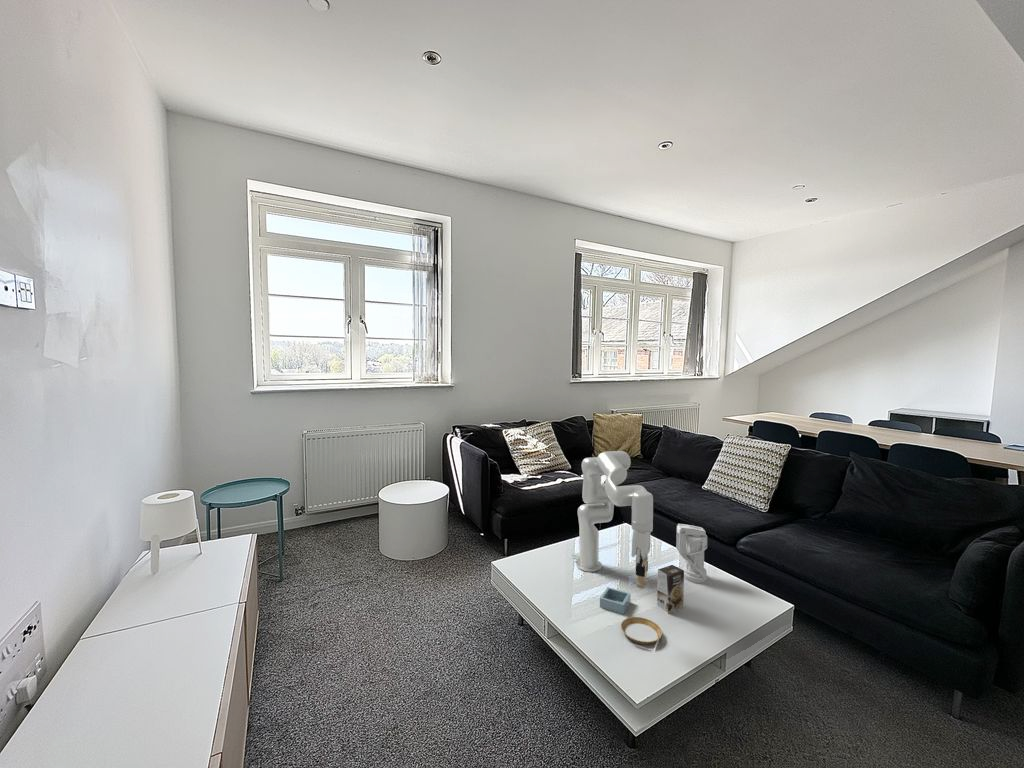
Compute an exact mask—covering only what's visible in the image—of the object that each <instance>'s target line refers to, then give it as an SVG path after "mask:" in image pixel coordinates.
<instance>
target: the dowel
mask: <svg viewBox="0 0 1024 768" xmlns="http://www.w3.org/2000/svg"><path fill="white" fill-rule="evenodd" d="M640 557H642V556H640ZM640 561H642V560H641V559H640ZM647 561H648V560H647V557H646V558H645V559H644V566H645V576H644V577H641V576H637V575H636V587H637V588H639V589H647V587H648V586H647V585H648V582H647V581H648V578H647V577H648V571H647Z"/></svg>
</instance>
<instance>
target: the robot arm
mask: <svg viewBox="0 0 1024 768" xmlns="http://www.w3.org/2000/svg"><path fill="white" fill-rule="evenodd" d="M631 462H632V461H631V457H630V455H629V454H628V452H626V451H624V450H611V451H610V450H608V451H603V452H601V453H598V455H597V456H596V457H585V458H584V459H583V460H582V462H581V471H582V474H583V475H582V477H583V479H582V494H581V495H582V496H581V497H582V502H584V503H583V504H581V505H580V506H579V507H578V508H577V517H578V518H577V519H578V525H579V526H578V527H579V533H578V534H579V553H575V552H574V553H572V555H571V556H572V560H576V564H575V565H576V567H577V568H578V569H579V570H581V571H583V572H588V573H589V572H590V573H593V572H598V571H600V570H601V569H602V568H603V564H602V562H601V561H600V559H599V552H600V551H599V550H600V549H599V547H600V545H599V544H600V542H599V540H600V539H599V538H600V535H599V534H600V533H599V530H598V528H597V527H596V526H595V524H600V523H601V524H603V523H609V522H611V521H612V520H613V517H614V508H615V506H616V507H627V506H628V507H629V506H631V529H632V530H633V531H632V538H631V557H632V558H635V576H636V577H637V576H641V577H644V576H645V566H644V559H645V558H646V557H647V572H649V571H648V570H649V568H648V567H649V563H648V561H649V560H648V559H649V556H648V555H649V553H650V551H651V546H652V545H651V542H652V541H651V537H652V536H651V533H652V532H653V529H654V523H653V521H654V496H653V494H652V493H651V492H649V491H647V489H646V488H645V487H644V486H643V485H642V484H641V485H640V484H635V485H621V484H622V483H623V482H624V481H625V480H626V479H627V476H628V471H627V470H629V468H630V467H631V464H632V463H631ZM602 476H605V477H606V478H605V481H604V482H603V483H602ZM640 556H642V557H640ZM640 559H641V560H642V561H640Z"/></svg>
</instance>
